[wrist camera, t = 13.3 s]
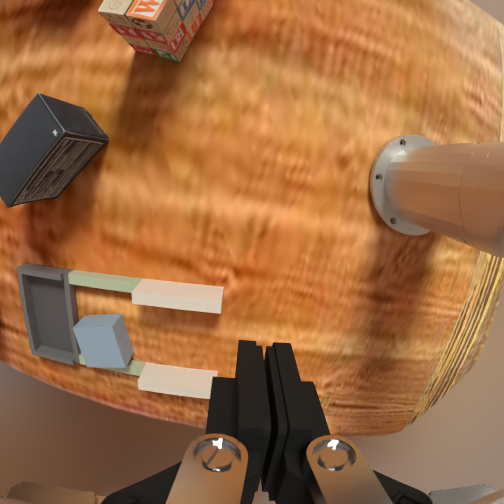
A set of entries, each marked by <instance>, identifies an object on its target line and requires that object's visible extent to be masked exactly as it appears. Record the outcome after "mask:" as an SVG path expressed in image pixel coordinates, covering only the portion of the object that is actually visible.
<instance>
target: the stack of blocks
mask: <svg viewBox="0 0 504 504" xmlns="http://www.w3.org/2000/svg"><path fill="white" fill-rule="evenodd" d="M214 1H215V0H104V1H103V3H102V4H101V6H100V8H99V9H98V12H99V13H100V14H101V15H102V16H103V17H104V18H105V19H106V20H107V21H108V22H109V25H110V26H111V27H112V28H113V29H114V30H115V31H116V32H117V33H118V34H120V35H121V36H122V37H123V38H124V39H125V40H126V41H127V42H128V43H129V44H130V45H131V47H133V48H134V50H135V51H138V52H142V53H146V54H150V55H154V56H159V57H163V58H166V59H170V60H173V61H177V62H180V61H181V59H182V57H183V55H184V53H185V52H186V50H187V48H188V46H189V44H190V42H192V40H193V38H194V36H195V35H196V33H197V31H198V29H199V28H200V26H201V24H202V22H203V21H204V19H205V18H206V16H207V14H208V13H209V11H210V9H211V8H212V6H213V3H214Z"/></svg>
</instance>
